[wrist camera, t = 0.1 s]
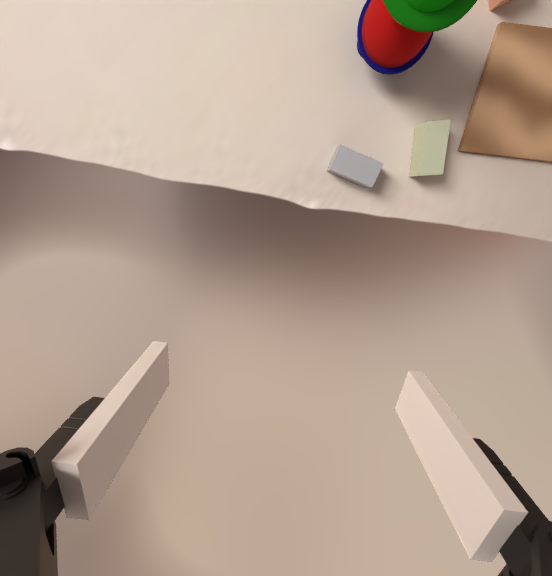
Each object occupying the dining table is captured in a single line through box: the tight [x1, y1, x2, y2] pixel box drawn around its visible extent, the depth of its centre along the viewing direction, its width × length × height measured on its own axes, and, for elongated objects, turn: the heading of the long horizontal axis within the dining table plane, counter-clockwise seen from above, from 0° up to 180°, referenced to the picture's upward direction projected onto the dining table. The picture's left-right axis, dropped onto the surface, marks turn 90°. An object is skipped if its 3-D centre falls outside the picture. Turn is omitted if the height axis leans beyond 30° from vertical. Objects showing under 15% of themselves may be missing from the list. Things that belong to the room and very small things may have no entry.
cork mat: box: [458, 22, 552, 162], centre depth 32 cm, size 13×13×1 cm
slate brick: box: [327, 145, 383, 188], centre depth 35 cm, size 6×3×3 cm, turn 69°
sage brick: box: [409, 119, 451, 177], centre depth 34 cm, size 6×3×3 cm, turn 4°
